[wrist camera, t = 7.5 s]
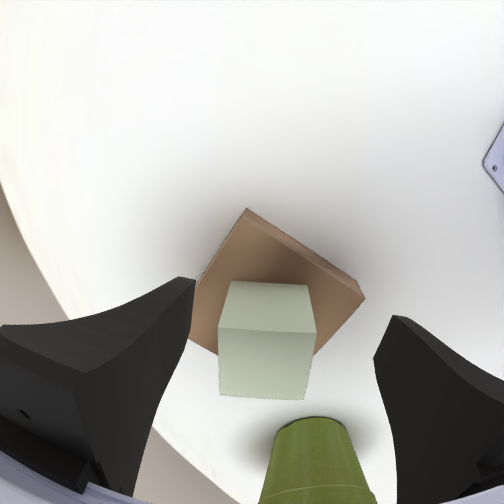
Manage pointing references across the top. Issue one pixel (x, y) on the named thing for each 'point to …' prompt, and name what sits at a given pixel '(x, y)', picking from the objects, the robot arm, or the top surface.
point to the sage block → (266, 341)
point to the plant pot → (314, 466)
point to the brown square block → (271, 279)
